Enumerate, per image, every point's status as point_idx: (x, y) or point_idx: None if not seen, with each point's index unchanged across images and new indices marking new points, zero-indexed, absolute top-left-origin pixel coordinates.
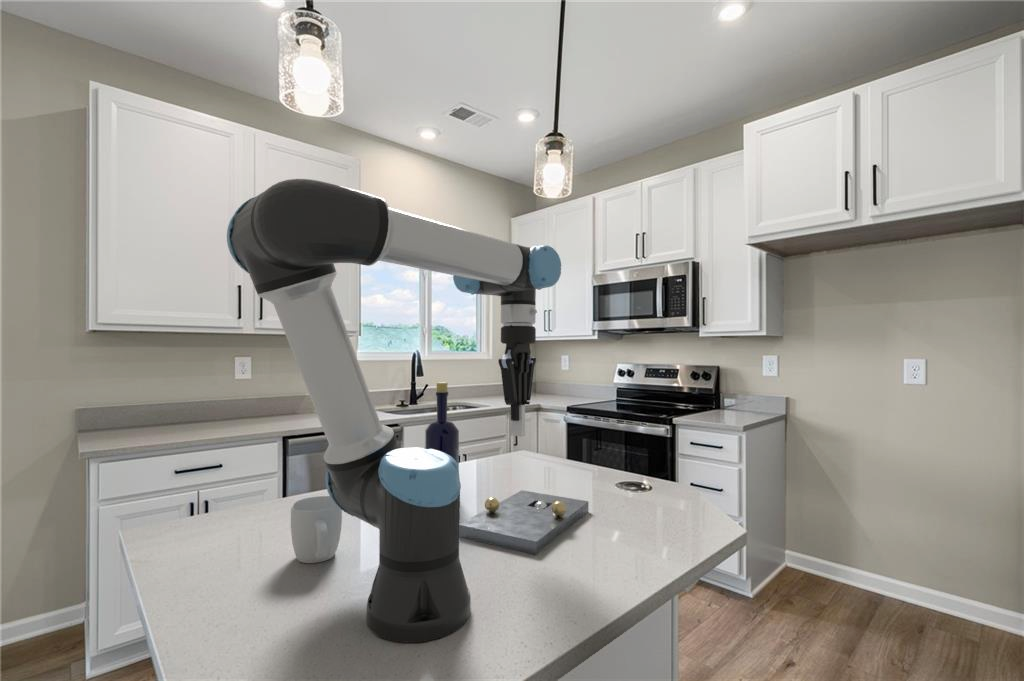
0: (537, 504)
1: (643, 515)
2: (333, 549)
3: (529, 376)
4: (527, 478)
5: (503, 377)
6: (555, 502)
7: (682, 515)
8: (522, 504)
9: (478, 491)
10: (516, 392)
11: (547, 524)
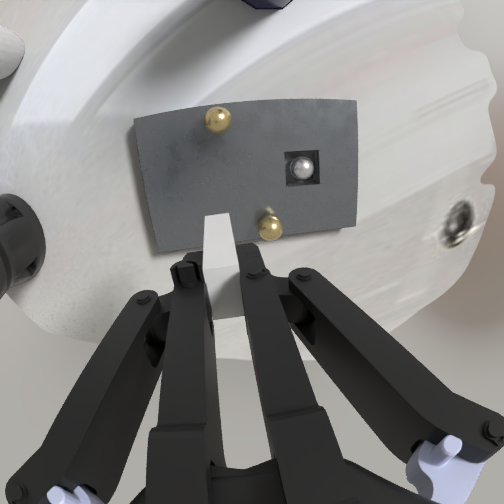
0: (296, 167)
1: (363, 281)
2: (5, 76)
3: (355, 404)
4: (439, 68)
5: (72, 408)
6: (268, 228)
7: (378, 310)
8: (286, 141)
9: (343, 15)
10: (160, 372)
11: None
